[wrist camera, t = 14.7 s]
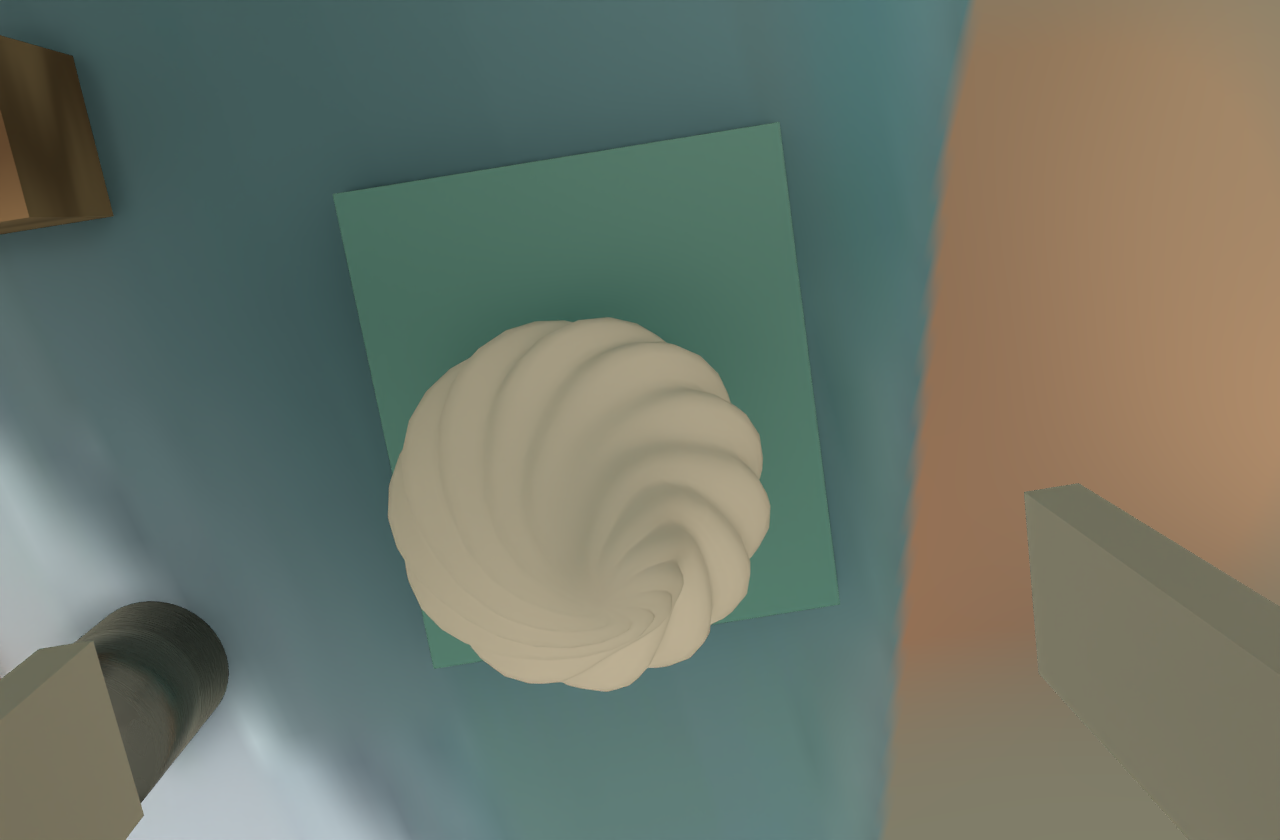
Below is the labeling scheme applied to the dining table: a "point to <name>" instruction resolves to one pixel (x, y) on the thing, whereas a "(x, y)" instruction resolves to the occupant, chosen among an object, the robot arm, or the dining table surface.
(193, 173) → the dining table surface
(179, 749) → the dark metal cylinder
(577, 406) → the soft serve ice cream cone
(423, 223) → the teal board
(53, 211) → the walnut cube
